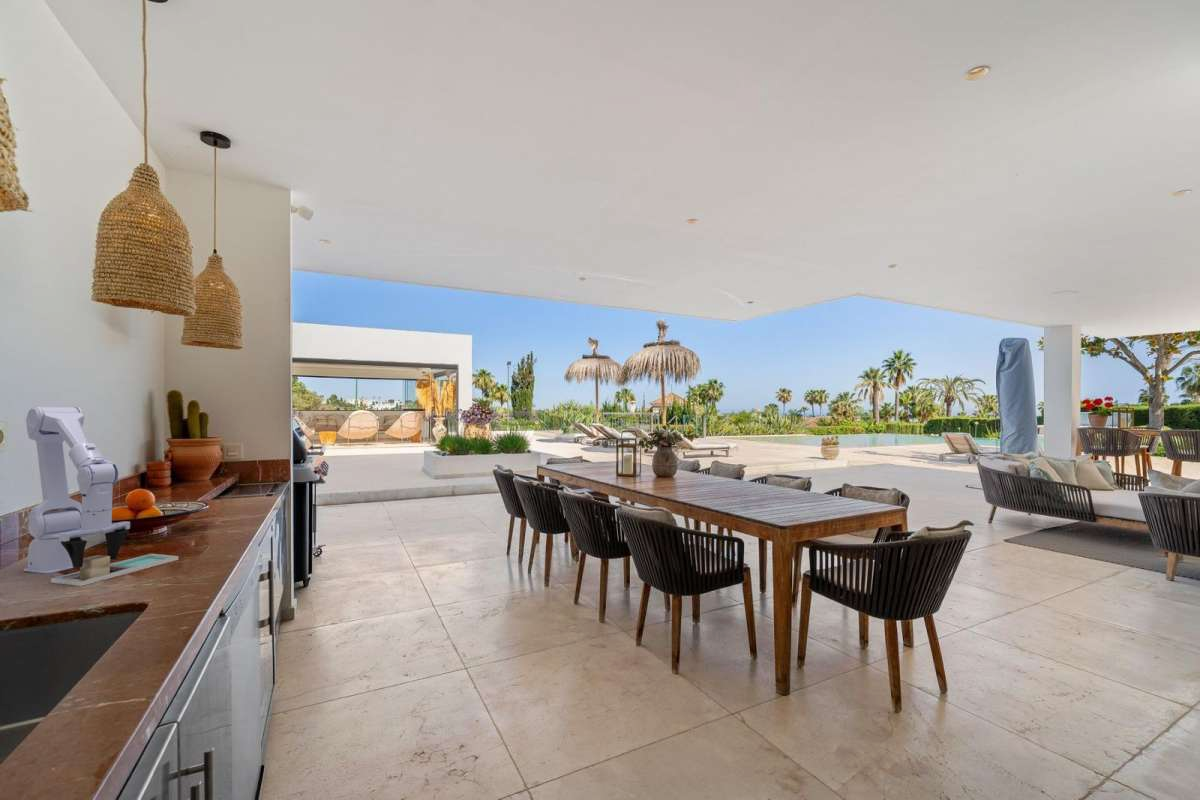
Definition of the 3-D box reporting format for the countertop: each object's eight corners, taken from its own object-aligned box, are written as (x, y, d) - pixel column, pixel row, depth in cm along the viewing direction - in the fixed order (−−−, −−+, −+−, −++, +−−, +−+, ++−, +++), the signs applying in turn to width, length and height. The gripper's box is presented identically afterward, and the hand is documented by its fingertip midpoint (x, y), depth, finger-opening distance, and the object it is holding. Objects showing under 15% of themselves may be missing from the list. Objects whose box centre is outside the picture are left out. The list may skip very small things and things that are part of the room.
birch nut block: (79, 578, 134) (80, 559, 134) (97, 574, 138) (98, 554, 138) (91, 580, 133) (92, 560, 133) (109, 575, 137) (110, 556, 137)
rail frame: (50, 582, 130) (50, 578, 130) (151, 557, 153) (151, 553, 153) (80, 586, 128) (80, 581, 128) (178, 559, 151) (178, 556, 151)
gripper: (74, 516, 128) (73, 572, 127) (139, 506, 142) (137, 556, 141) (53, 514, 129) (51, 570, 129) (119, 504, 143) (118, 554, 143)
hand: (95, 563), depth 135 cm, fingers open, 7 cm apart
